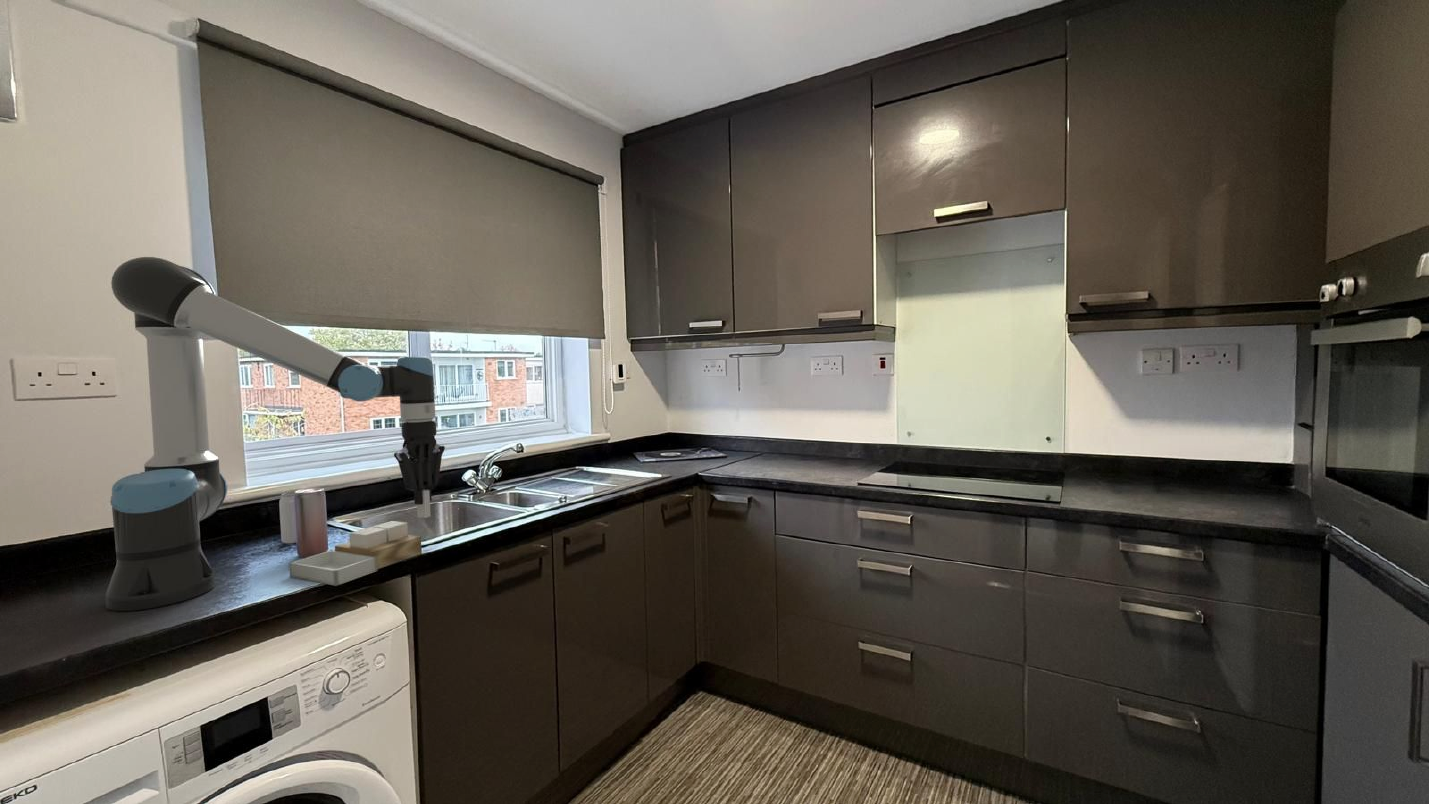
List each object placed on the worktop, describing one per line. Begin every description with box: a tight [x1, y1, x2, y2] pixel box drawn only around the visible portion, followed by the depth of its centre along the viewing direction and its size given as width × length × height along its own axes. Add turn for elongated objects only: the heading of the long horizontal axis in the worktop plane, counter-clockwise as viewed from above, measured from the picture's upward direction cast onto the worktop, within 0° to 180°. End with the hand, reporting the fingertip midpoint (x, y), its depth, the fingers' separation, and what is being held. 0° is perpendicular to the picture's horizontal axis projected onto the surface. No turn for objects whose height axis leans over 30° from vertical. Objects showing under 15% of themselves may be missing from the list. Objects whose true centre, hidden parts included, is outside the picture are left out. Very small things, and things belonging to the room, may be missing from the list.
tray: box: [288, 549, 378, 587], centre depth 122 cm, size 9×14×3 cm, turn 68°
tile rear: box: [371, 520, 409, 542], centre depth 134 cm, size 5×5×3 cm
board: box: [334, 534, 423, 570], centre depth 132 cm, size 12×12×4 cm
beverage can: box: [294, 487, 329, 559], centre depth 135 cm, size 6×6×15 cm
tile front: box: [348, 526, 387, 549], centre depth 129 cm, size 5×5×3 cm
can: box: [278, 491, 297, 545], centre depth 147 cm, size 6×6×12 cm
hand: (424, 516), depth 143 cm, fingers closed
